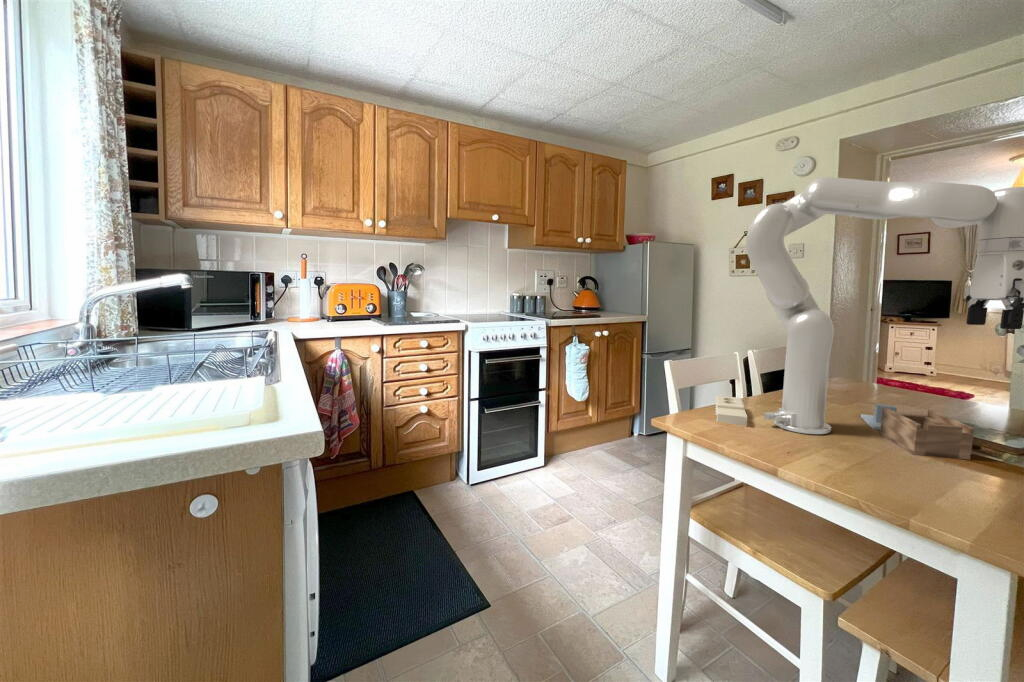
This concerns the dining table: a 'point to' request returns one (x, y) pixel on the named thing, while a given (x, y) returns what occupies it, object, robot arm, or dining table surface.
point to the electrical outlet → (730, 410)
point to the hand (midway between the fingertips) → (992, 326)
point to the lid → (877, 415)
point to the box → (928, 434)
